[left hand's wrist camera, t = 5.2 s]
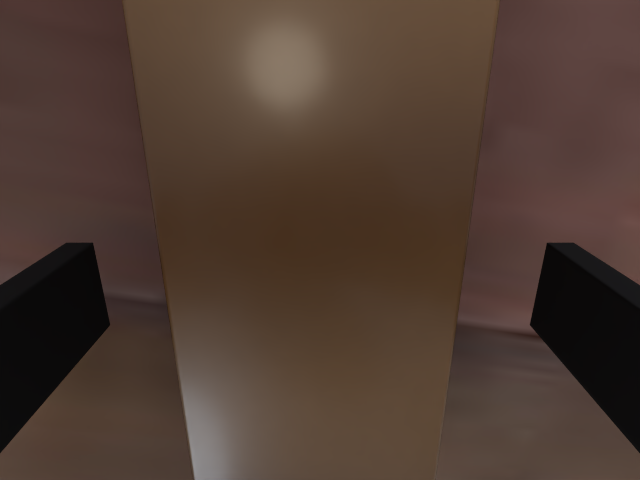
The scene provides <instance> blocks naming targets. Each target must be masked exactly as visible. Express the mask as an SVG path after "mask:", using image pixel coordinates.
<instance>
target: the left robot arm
mask: <svg viewBox="0 0 640 480" xmlns="http://www.w3.org/2000/svg"><path fill="white" fill-rule="evenodd" d="M109 326H110V322H109V317H108V312H107V308H106V303H105V298H104V293H103V289H102V284H101V279H100V274H99V269H98V265H97V260H96V255H95V250H94V246H93V243H65V244H64V245H62V246H61V247H59V248H58V249H56V250H54V251H53V252H51V253H50V254H48V255H47V256H45V257H44V258H42V259H40V260H39V261H37V262H36V263H34V264H33V265H31V266H29V267H28V268H26V269H25V270H23V271H22V272H20V273H19V274H17V275H15V276H14V277H12V278H11V279H9V280H8V281H6V282H5V283H3V284H1V285H0V453H1V452H2V450H3V449H4V448H5V447H6V446H7V445H8V443H9V442H10V441H11V440H12V439H13V438H14V436H15V435H16V434H17V433H18V432H19V431H20V429H21V428H22V427H23V426H24V425H25V424H26V422H27V421H28V420H29V419H30V418H31V417H32V415H33V414H34V413H35V412H36V411H37V410H38V408H39V407H40V406H41V405H42V404H43V403H44V401H45V400H46V399H47V398H48V397H49V396H50V394H51V393H52V392H53V391H54V390H55V389H56V387H57V386H58V385H59V384H60V383H61V382H62V380H63V379H64V378H65V377H66V376H67V375H68V373H69V372H70V371H71V370H72V369H73V368H74V366H75V365H76V364H77V363H78V362H79V361H80V359H81V358H82V357H83V356H84V355H85V354H86V352H87V351H88V350H89V349H90V348H91V347H92V345H93V344H94V343H95V342H96V341H97V340H98V338H99V337H100V336H101V335H102V334H103V333H104V331H105V330H106V329H107V328H108V327H109ZM530 326H531V327H532V328H533V329H534V330H535V331H536V333H537V334H538V335H539V336H540V337H541V338H542V340H543V341H544V342H545V343H546V344H547V345H548V347H549V348H550V349H551V350H552V351H553V352H554V354H555V355H556V356H557V357H558V358H559V359H560V361H561V362H562V363H563V364H564V365H565V366H566V368H567V369H568V370H569V371H570V372H571V373H572V375H573V376H574V377H575V378H576V379H577V380H578V382H579V383H580V384H581V385H582V386H583V387H584V389H585V390H586V391H587V392H588V393H589V394H590V396H591V397H592V398H593V399H594V400H595V401H596V403H597V404H598V405H599V406H600V407H601V408H602V410H603V411H604V412H605V413H606V414H607V415H608V417H609V418H610V419H611V420H612V421H613V422H614V424H615V425H616V426H617V427H618V428H619V429H620V431H621V432H622V433H623V434H624V435H625V436H626V438H627V439H628V440H629V441H630V442H631V443H632V445H633V446H634V447H635V448H636V449H637V450H638V452H639V453H640V285H639V284H637V283H635V282H634V281H632V280H631V279H629V278H628V277H626V276H625V275H623V274H621V273H620V272H618V271H617V270H615V269H614V268H612V267H611V266H609V265H607V264H606V263H604V262H603V261H601V260H600V259H598V258H596V257H595V256H593V255H592V254H590V253H589V252H587V251H586V250H584V249H582V248H581V247H579V246H578V245H576V244H575V243H547V246H546V250H545V255H544V260H543V265H542V269H541V274H540V279H539V284H538V289H537V293H536V298H535V303H534V308H533V312H532V317H531V322H530Z"/></svg>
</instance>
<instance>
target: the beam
mask: <svg viewBox="0 0 640 480" xmlns="http://www.w3.org/2000/svg"><path fill="white" fill-rule="evenodd" d="M122 4H123V11H124V17H125V24H126V31H127V38H128V44H129V51H130V58H131V65H132V71H133V78H134V85H135V92H136V99H137V105H138V112H139V119H140V126H141V132H142V139H143V146H144V153H145V159H146V166H147V173H148V180H149V186H150V193H151V200H152V207H153V213H154V220H155V227H156V234H157V241H158V247H159V254H160V261H161V268H162V274H163V281H164V288H165V295H166V301H167V308H168V315H169V322H170V328H171V335H172V342H173V349H174V356H175V362H176V369H177V376H178V383H179V389H180V396H181V403H182V410H183V416H184V423H185V430H186V437H187V443H188V450H189V457H190V464H191V470H192V477H193V480H436V473H437V466H438V458H439V451H440V443H441V436H442V428H443V421H444V414H445V406H446V399H447V391H448V384H449V376H450V369H451V362H452V354H453V347H454V339H455V332H456V324H457V317H458V309H459V302H460V295H461V287H462V280H463V272H464V265H465V257H466V250H467V243H468V235H469V228H470V220H471V213H472V205H473V198H474V190H475V183H476V176H477V168H478V161H479V153H480V146H481V138H482V131H483V123H484V116H485V109H486V101H487V94H488V86H489V79H490V71H491V64H492V57H493V49H494V42H495V34H496V27H497V19H498V12H499V4H500V0H122Z"/></svg>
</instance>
